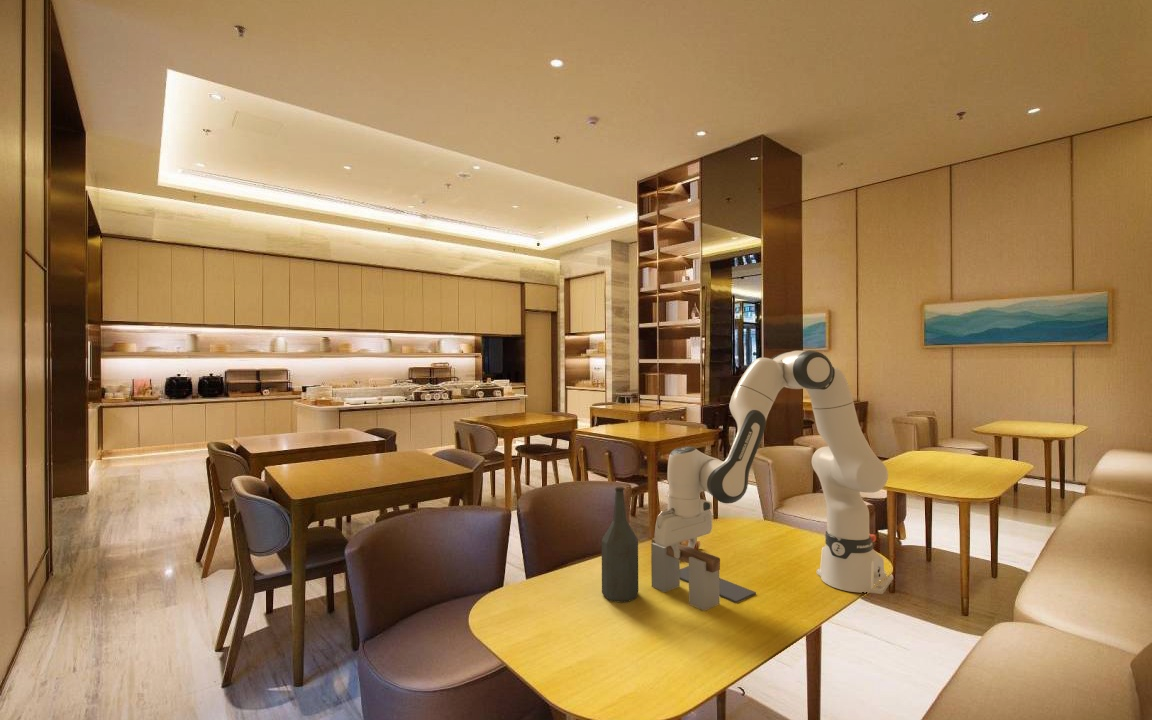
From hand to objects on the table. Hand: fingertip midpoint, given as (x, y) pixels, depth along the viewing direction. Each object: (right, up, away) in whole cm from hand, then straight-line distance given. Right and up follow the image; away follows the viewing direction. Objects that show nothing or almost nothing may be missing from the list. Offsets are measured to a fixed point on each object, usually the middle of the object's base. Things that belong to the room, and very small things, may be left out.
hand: (684, 555), depth 146 cm
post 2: (+4, -11, -6) cm, 13 cm away
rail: (0, -1, 0) cm, 1 cm away
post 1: (-4, -11, +6) cm, 13 cm away
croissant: (+4, -12, +31) cm, 33 cm away
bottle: (-18, -11, 0) cm, 21 cm away
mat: (+9, -11, +7) cm, 16 cm away
